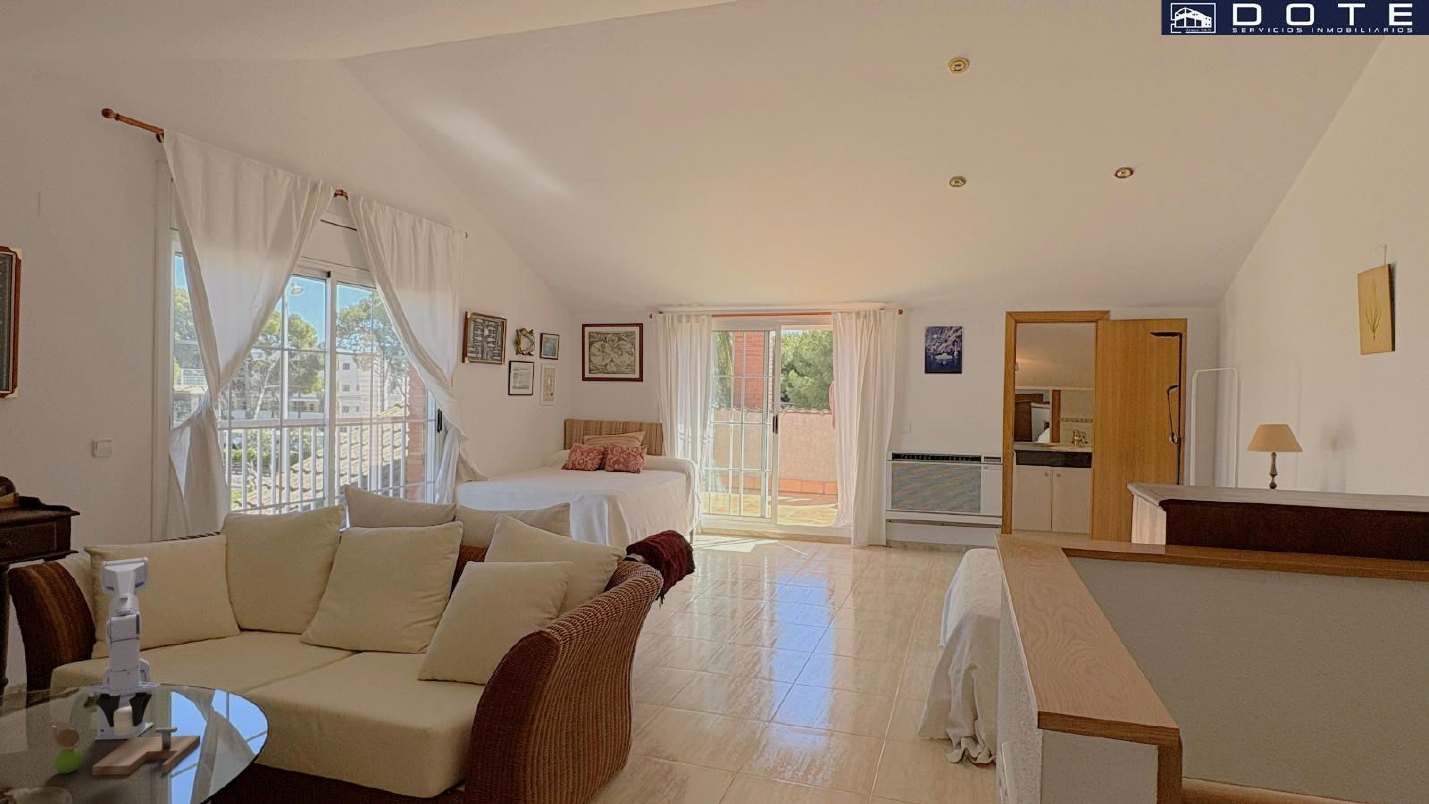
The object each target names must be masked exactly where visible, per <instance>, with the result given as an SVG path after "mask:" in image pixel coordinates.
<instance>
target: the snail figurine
mask: <svg viewBox="0 0 1429 804" xmlns="http://www.w3.org/2000/svg"><path fill="white" fill-rule="evenodd" d="M53 723H55V722H54V720H51V721H49V722H48V725H50V726H49V728H48V731H49V733H50V736H51V740H52V742H53V744H54V746H55V747H56V748H58V749H59V750H60V751H59V752H57V754H55V756H54V758H53V759H52V768H53V769H54V771H55V772H56V773H59V774H70V773H72V772H74V771H76V770H77V769H78V768H79V767H80V766H81V765H82V763H83V759H84V755H83V752H82V750H80V749H79V748H78V747H79V746H80V744H79V743H78V742H79V739H80V734H79V731H78V730H77V729H76V728H73V727H65V728H62V729H61V730H60V731H59V732H57V731H58V727H57V726H56V725H52V724H53Z"/></svg>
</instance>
